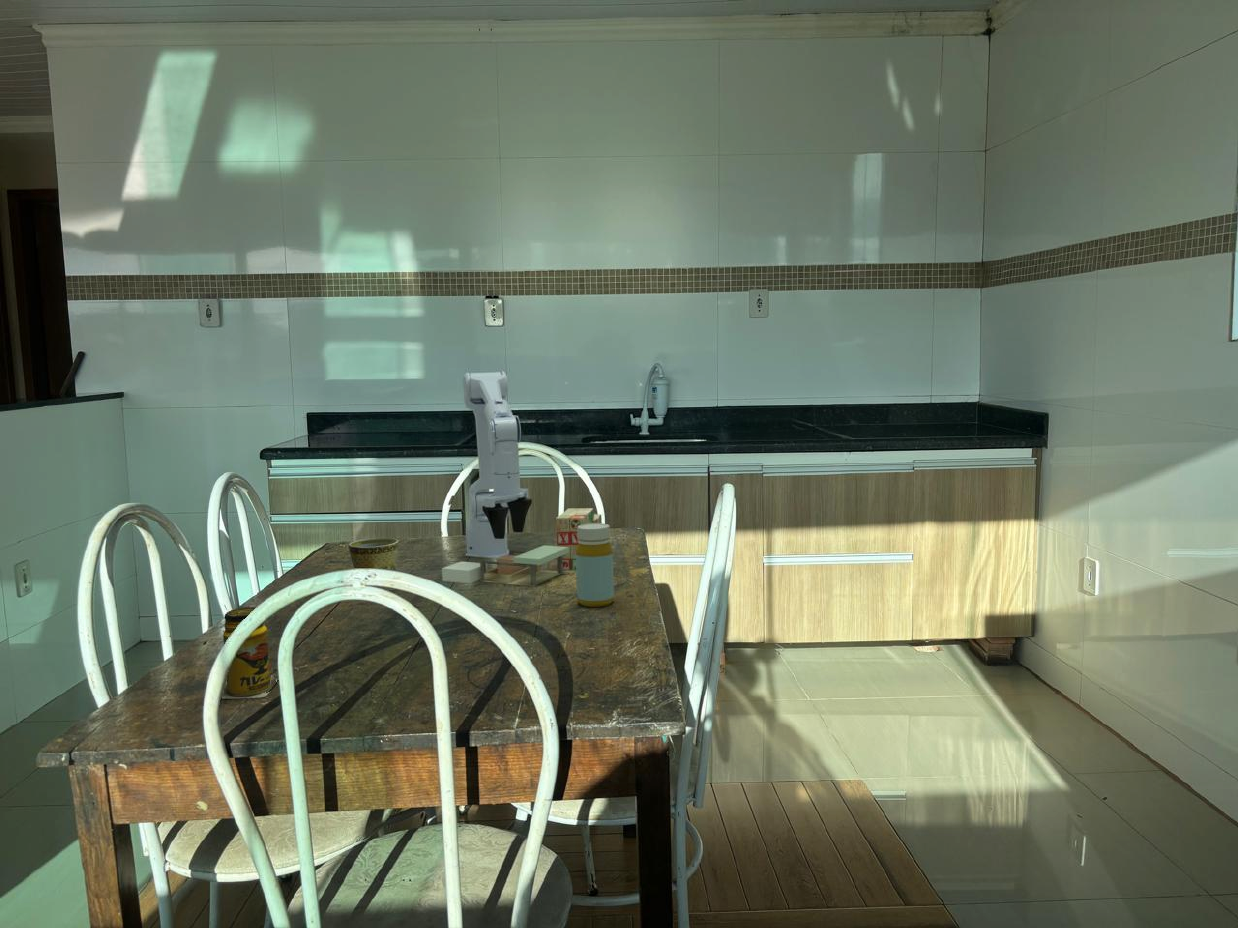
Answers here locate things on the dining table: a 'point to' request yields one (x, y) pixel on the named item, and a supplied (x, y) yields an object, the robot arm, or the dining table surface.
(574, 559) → the stack of blocks
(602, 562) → the bottle
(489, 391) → the robot arm
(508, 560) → the block
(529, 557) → the lid
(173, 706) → the dining table surface
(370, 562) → the ceramic cup
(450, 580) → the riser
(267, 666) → the condiment
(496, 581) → the grey frame
